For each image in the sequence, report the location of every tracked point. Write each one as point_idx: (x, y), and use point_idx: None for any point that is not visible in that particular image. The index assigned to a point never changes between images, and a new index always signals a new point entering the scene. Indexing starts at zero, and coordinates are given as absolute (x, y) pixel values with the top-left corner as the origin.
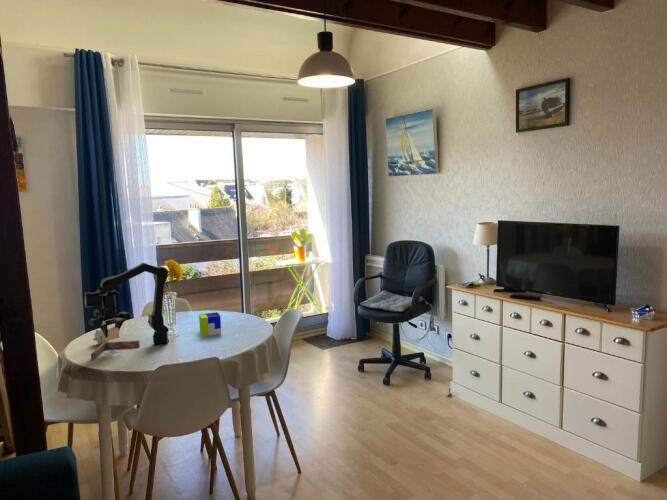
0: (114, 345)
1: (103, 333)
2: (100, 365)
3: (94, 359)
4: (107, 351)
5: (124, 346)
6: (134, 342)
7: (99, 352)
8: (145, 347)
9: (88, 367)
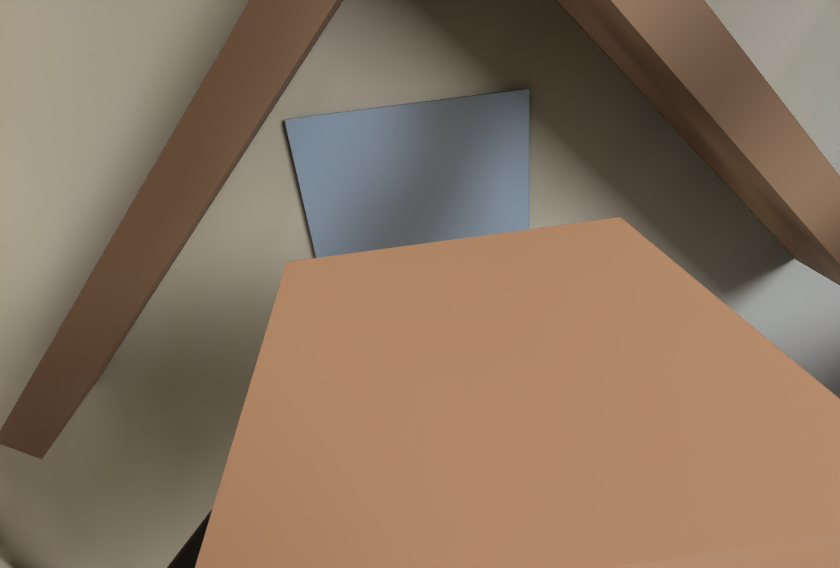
0: (584, 6)
1: (199, 546)
2: (141, 560)
3: (97, 378)
4: (374, 129)
5: (685, 133)
6: (823, 257)
7: (202, 214)
8: (804, 336)
9: (9, 549)
